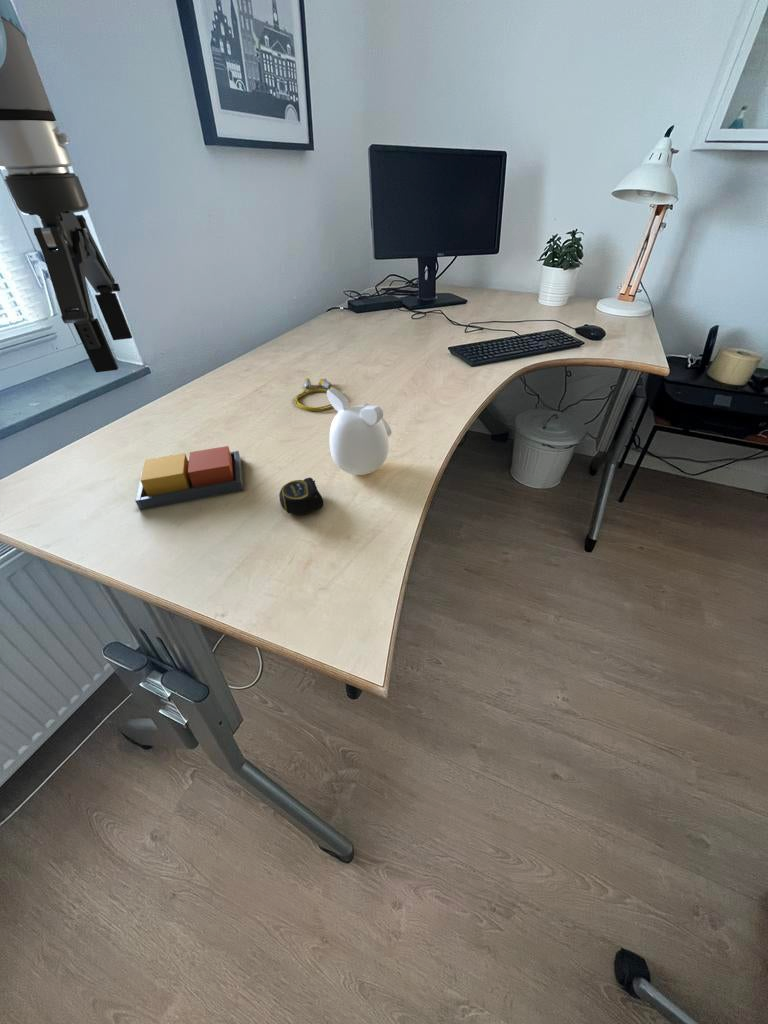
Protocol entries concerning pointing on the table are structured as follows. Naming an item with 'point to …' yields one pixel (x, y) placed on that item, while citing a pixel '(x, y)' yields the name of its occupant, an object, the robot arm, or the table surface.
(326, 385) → the coiled yellow cable
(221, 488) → the tray
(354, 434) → the white bunny figurine
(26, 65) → the robot arm
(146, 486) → the pad mustard
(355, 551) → the table surface
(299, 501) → the tape measure
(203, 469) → the pad terracotta
